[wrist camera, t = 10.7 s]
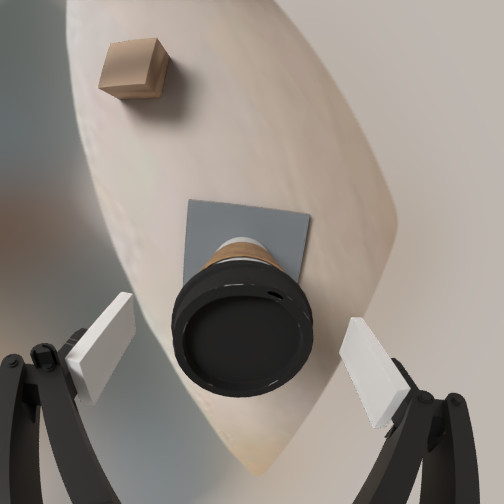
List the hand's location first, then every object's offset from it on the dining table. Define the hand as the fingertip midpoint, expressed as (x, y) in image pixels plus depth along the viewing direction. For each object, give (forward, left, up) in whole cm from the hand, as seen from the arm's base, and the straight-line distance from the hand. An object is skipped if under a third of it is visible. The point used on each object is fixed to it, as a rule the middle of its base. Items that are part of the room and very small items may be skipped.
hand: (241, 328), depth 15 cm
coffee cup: (0, 0, -13) cm, 13 cm away
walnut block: (-19, -13, -14) cm, 26 cm away
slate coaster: (0, 0, -14) cm, 14 cm away
